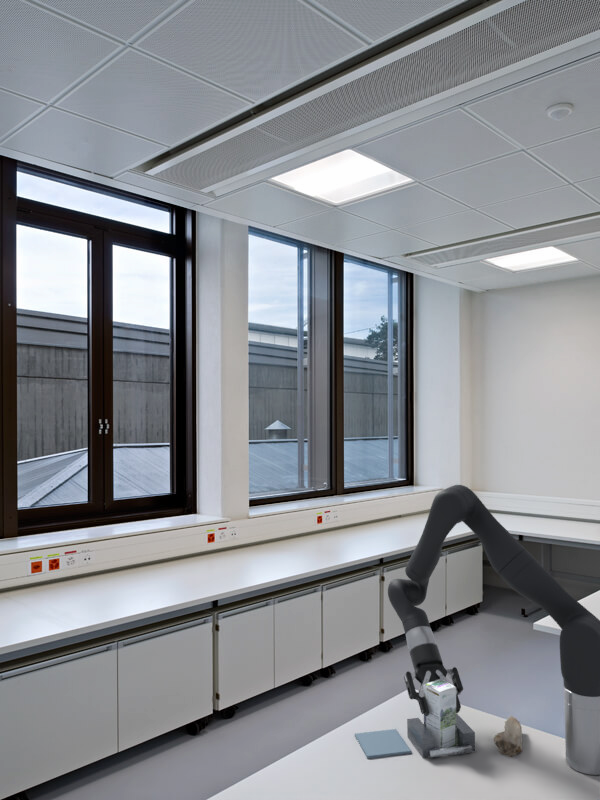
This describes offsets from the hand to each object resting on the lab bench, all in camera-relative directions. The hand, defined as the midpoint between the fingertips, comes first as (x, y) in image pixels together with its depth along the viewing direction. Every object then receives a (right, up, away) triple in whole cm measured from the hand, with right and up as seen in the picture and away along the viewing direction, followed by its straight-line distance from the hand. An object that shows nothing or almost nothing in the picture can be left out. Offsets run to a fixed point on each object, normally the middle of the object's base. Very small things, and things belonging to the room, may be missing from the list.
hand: (442, 713), depth 154 cm
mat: (-15, -8, +1) cm, 17 cm away
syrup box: (0, -8, +1) cm, 8 cm away
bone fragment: (+17, -8, +1) cm, 19 cm away
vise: (0, -8, +1) cm, 8 cm away
